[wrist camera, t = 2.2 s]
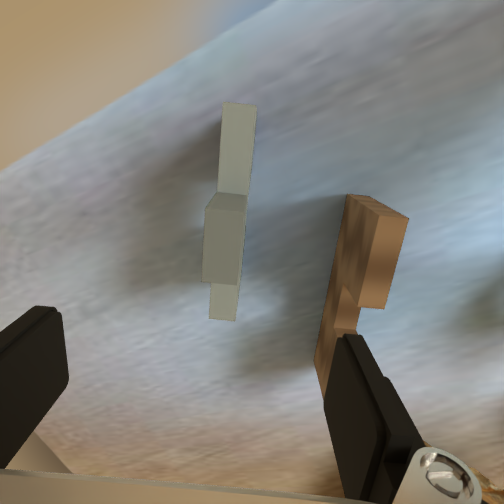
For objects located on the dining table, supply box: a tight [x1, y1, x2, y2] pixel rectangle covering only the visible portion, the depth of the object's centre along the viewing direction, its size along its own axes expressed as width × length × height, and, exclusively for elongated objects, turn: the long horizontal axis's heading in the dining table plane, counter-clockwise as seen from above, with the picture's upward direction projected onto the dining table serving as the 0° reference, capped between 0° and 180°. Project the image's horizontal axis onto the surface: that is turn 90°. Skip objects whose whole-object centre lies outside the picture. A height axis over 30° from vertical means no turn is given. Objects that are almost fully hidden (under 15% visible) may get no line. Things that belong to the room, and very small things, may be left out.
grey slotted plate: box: [201, 102, 257, 321], centre depth 28 cm, size 18×2×16 cm, turn 174°
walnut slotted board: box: [314, 194, 409, 400], centre depth 34 cm, size 22×2×10 cm, turn 174°
